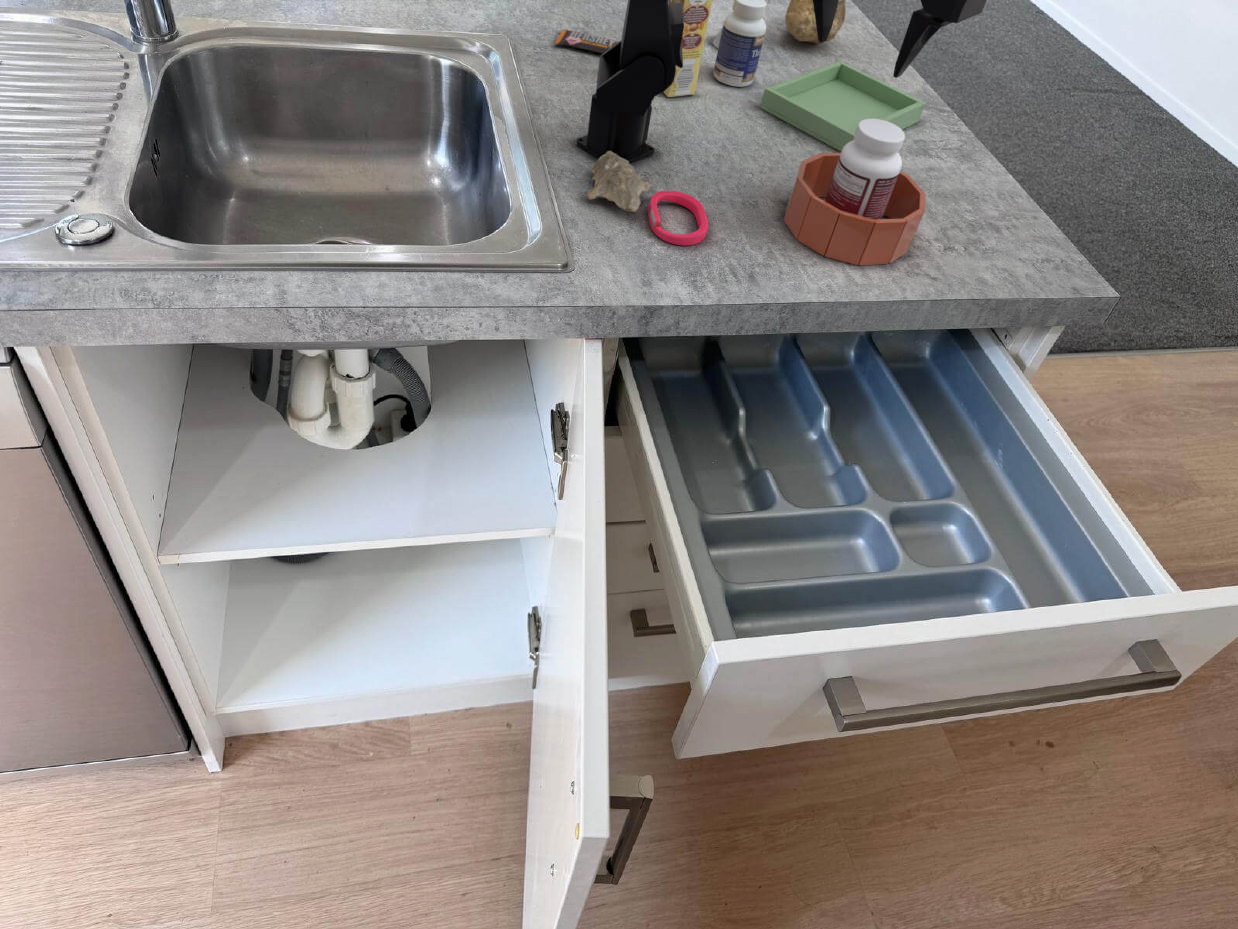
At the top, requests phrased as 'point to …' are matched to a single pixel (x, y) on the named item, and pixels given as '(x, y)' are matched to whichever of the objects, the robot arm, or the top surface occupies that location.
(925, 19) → the robot arm
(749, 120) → the top surface
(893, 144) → the pill bottle
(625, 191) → the artifact
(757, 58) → the pill bottle
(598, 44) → the chocolate bar
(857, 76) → the tray
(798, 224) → the segmented terracotta ring
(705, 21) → the candy box
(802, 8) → the tan rock
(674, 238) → the fitness band
